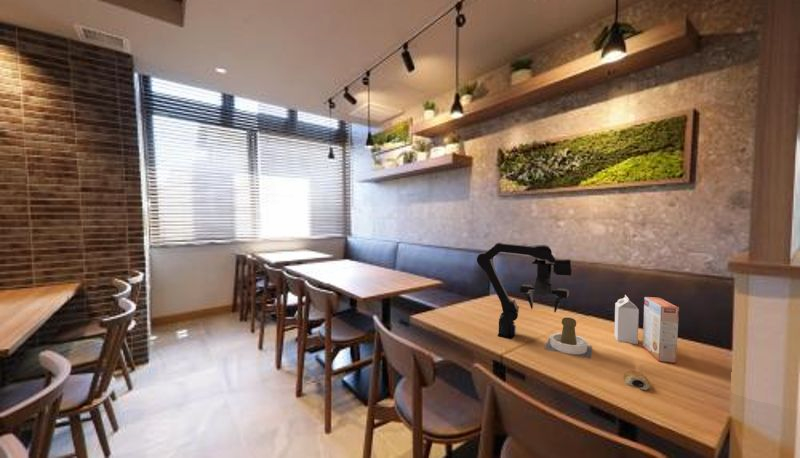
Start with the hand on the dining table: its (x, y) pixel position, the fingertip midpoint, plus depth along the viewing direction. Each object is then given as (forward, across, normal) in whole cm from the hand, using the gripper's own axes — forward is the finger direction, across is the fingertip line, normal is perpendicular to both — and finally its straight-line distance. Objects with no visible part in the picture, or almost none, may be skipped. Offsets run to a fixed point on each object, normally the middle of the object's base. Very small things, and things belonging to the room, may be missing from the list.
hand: (543, 310), depth 139 cm
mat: (+13, +10, -4) cm, 17 cm away
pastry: (+14, +32, -21) cm, 40 cm away
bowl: (+12, +10, -4) cm, 17 cm away
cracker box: (+13, +40, +9) cm, 43 cm away
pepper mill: (+12, +10, -4) cm, 16 cm away
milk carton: (+13, +29, +19) cm, 37 cm away
